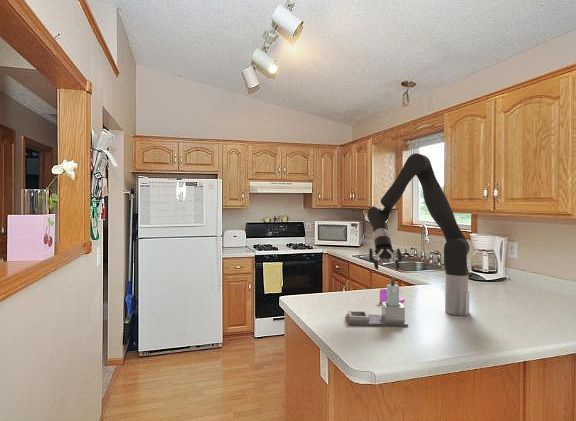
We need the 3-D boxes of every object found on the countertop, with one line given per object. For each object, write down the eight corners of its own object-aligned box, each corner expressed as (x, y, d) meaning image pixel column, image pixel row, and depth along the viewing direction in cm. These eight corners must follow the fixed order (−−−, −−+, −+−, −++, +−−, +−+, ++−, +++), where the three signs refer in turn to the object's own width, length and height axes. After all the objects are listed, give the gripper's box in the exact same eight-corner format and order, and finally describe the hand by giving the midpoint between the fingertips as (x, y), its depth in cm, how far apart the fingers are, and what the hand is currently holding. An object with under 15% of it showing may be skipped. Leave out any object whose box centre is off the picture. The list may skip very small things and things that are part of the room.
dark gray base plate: (400, 317, 154) (400, 300, 154) (407, 326, 142) (407, 309, 142) (346, 316, 156) (346, 300, 156) (348, 325, 144) (348, 308, 144)
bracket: (388, 305, 173) (388, 291, 173) (379, 302, 178) (379, 288, 177) (406, 301, 180) (407, 287, 179) (398, 299, 184) (398, 285, 184)
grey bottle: (396, 308, 150) (396, 277, 150) (399, 311, 146) (399, 279, 145) (386, 308, 151) (386, 276, 150) (389, 311, 146) (389, 279, 146)
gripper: (367, 235, 168) (371, 263, 157) (399, 235, 167) (405, 264, 156) (366, 245, 174) (369, 273, 163) (396, 245, 173) (402, 273, 162)
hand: (387, 268), depth 159 cm, fingers open, 8 cm apart
